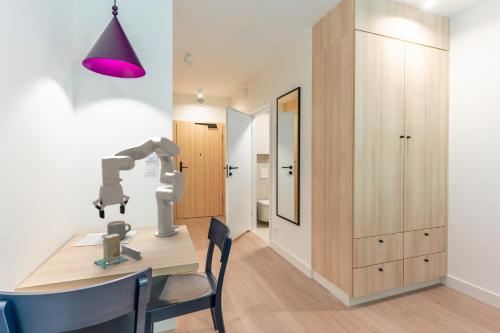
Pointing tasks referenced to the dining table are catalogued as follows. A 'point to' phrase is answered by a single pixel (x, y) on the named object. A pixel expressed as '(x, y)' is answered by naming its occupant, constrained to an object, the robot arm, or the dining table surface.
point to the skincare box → (111, 247)
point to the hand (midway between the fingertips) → (112, 215)
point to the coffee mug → (118, 228)
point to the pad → (103, 263)
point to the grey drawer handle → (131, 251)
